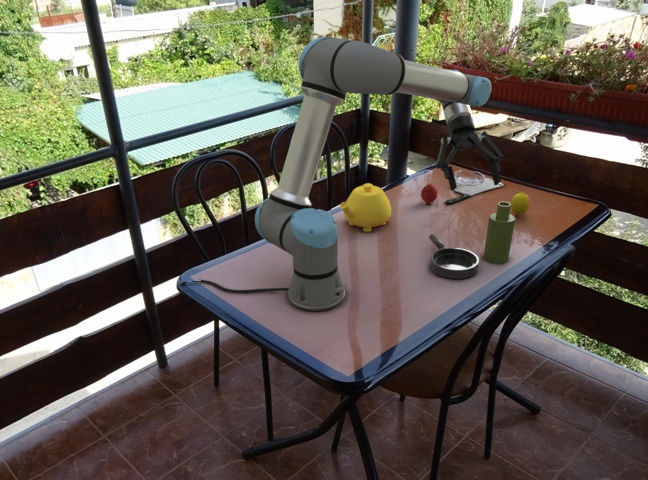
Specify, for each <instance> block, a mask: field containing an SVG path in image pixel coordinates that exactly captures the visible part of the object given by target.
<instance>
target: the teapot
mask: <svg viewBox="0 0 648 480" xmlns="http://www.w3.org/2000/svg"><path fill="white" fill-rule="evenodd" d="M339 208H340V209H341V211H342V212H343V217H344V218H345V219H346V220H347V222H348V225H349V226H356V227H361V228H362V230H363V232H371V231H372V229H373V228H374V227H378V226H384V225H386V224H387V223H386V222H387V221H388V220H389V219H390V218H391V216H392V207H391V202H390V200H389V198H388V196H387V194H386V193H385V192H384V190H383V189H382V188H381V187H379V186H376V185H373V183H369V182H367V183H364V184H362V185H359V186H357V187H355V188H354V189H353V190H352V191H351V193H350V194H349V196H348V198H347V199H346V201H343V202H341V203H340V204H339ZM372 227H373V228H372Z"/></svg>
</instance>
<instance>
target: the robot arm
mask: <svg viewBox="0 0 648 480" xmlns="http://www.w3.org/2000/svg"><path fill="white" fill-rule="evenodd" d="M298 59H299V60H298V71H299V76H300V78H301V79H302V80H301V85H300V90H301V92H302V94H303V100H302V103H301V107H300V110H299V113H298V117H297V120H296V123H295V127H294V130H293V133H292V137H291V141H290V144H289V148H288V151H287V155H286V157H285V162H284V165H283V167H282V171H281V175H280V179H279V182H278V186H277V187H276V188H275V189H273V190H271V191H270V192H269V196H268V198H265V199H264V200H263V202H262V203H260V204H259V205H258V206H257V208H256V210H255V214H254V225H255V228H256V231H257V233H258V234H259V235H260V237H261V238H263V239H265V241H266V242H267V243H269V244H270V245H274V246H276V247H277V248H279V249H281V250H282V251H284V252H286V253H287V254H289V255H290V256H292V268H293V269H292V270H293V272H292V276H291V279H290V283H289V285H288V287H273V288H272V287H271V288H253V289H233V288H232V289H231V288H227V287H224V286H222V285H220V284H218V283H216V282H214V281H211V280H206V279H200V280H201V281H192V282H191V283H202V284H203V283H204V284H209V285H212V286H214V287H216V288H218V289H220V290H222V291H224V292H228V293H236V294H244V293H245V294H246V293H260V292H261V293H262V292H283V291H284V292H286V291H288V292H287V294H288V295H287V296H288V298H287V299H288V301H289V303H290V304H292V306H293V307H295V308H297V309H299V310H302V311H306V312H323V311H328V310H332V309H335V308H336V307H339V306H340V305H341V304H342V303H343V302H344V300H345V296H346V291H345V290H347V287H348V285H347V284H348V283H345V284H344V283H343V280H342V278H341V275H340V273H339V269H338V268H339V267H338V266H339V265H338V264H339V263H338V255H339V254H338V253H339V252H338V251H339V250H338V249H339V247H338V243H339V242H338V241H339V239H338V238H339V231H338V226H337V224H338V223H337V220H336V219H335V217H334V216H333V214H331V213H330V212H328V211H326V210H324V209H319V208H317V209H315V208H314V207H313V208H312V206H313V205H312V202H311V200H310V193H311V190H312V186H313V183H314V179H315V177H316V173H317V171H318V170H317V169H318V168H319V163H320V160H321V158H322V154H323V151H324V147H325V145H326V141H327V138H328V134H329V131H330V128H331V124H332V122H333V119H334V116H335V111H336V109H337V107H338V106H339V105H341V104H343V103H344V102H345V100H346V96H347V94H357V95H358V94H361V95H363V94H365V95H382V96H383V95H384V96H393V95H394V94H396V93H398V94H403V95H410V96H415V97H421V98H427V99H433V100H435V101H438V102H440V103H441V107H442V111H443V115H444V119H445V123H446V128H447V132H448V135H449V136H447V135H445V134H444V135H443V136H442V137H441V139H440V141H439V142H440V149H439V153H438V156H437V160H436V164H435V169H437V170H439V169H440V171H441V172H443V175H444V179H445V180H447V181H448V184H449V189H450V191H451V192H453V191H454V190H455V189H457V188H458V186H457V180H456V177H455V174H454V168H453V165H450V164H451V162H452V161H453V159H454V157H455V156H456V154H457V152H458V151H460V152H463V151H471V150H472V151H473V152H476V153H477V154H479V155H480V156H481V157H482V158H484V159H485V160H486V161H487V162H489V163H490V164H489V165H488V166H489V169H490V173H491V179H492V180H493V182H494V185H498V184H499V183H500V182H501V183H502V179H501V175H500V172H501V166H500V162H501V161H502V159H504V157H505V155H504V154H503V152H501V151H500V149H499V148H498V147H497V146H496V144H495V143H494V142H493V141H492V140H491V138H490V137H489V135H488V132H487V131H486V130H483V131H482V132H480V133H477V132H476V126H475V122H474V118H473V115H472V109H471V107H482V106H483V105H485V104H486V103H487V102H488V100H489V98H490V96H491V92H492V83H491V80H490V79H489V78H487V77H483V76H480V75H471V74H467V73H463V72H460V70H457V69H446V68H442V67H437V66H433V65H429V64H424V63H420V62H416V61H411V60H407V59H405V58H404V57H403V56H402V55H401V54H399V53H397V52H393V51H389V50H387V49H383V48H380V47H378V46H376V45H373V44H371V43H367V42H364V41H361V40H353V39H352V40H351V39H346V38H339V37H333V36H325V37H322V36H321V37H317V38H315V39H313V40H311V41H309V42H308V43H307V44H306V45H305V47H304V48H303V49H302V51H301V53H300V56H299V58H298ZM449 144H451V145H452V146H453V147H452V149H451V151H450V152H449V154H448V156H447V158H446V159H445V156H446V152H447V148H448V145H449ZM444 159H445V161H444ZM188 283H189V282H184V281H182V282H181V283H180V284H179V286H181V287H183V286H184V285H186V284H188Z"/></svg>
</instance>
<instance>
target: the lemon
mask: <svg viewBox="0 0 648 480" xmlns="http://www.w3.org/2000/svg"><path fill="white" fill-rule="evenodd" d="M510 204H511V208H510V210H511V211H512V212H513V213H514V214H516V215H517V216H520V215H522V214H525V213H526V212H527V211H528V209H529V207H530V197H529V196H528V195H527V194H526V193H524V192H519V193H517V194H515V195H514V196H513V197H512V199H511V202H510Z"/></svg>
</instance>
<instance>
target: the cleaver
mask: <svg viewBox="0 0 648 480" xmlns="http://www.w3.org/2000/svg"><path fill="white" fill-rule="evenodd" d="M483 178H484V182H483V183H482V184H481V185H477V186H465V185H466V184H464V185H462V186H459V187H457V188H455V189H454V190H453V191H454V192H456V193H459V194H462V195H459V196H458V197H455V198H452V199H447V200H445V204H447V205H452V204H456V203H458V202H461V201H463V200H465V199H467V198H470V197H473V196H475V195H478V194H481V193H484V192H487V191H489V190H494V189H498V188H500V187H504V183H503V182H502V181H501V182H500V183H499V184H498V185H494V182H493V178H489V177H483Z"/></svg>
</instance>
